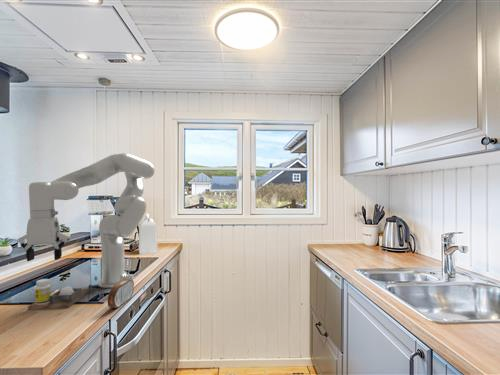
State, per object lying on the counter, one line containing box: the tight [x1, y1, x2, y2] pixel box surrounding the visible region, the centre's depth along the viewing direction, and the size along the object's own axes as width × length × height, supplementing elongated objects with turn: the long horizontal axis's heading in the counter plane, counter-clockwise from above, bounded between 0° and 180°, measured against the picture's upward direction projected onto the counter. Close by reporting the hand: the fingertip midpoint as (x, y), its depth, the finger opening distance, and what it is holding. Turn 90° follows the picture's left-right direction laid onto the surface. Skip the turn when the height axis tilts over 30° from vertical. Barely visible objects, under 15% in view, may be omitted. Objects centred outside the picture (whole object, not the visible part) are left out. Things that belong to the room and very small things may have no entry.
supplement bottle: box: [34, 278, 52, 305], centre depth 107 cm, size 5×5×8 cm
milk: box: [137, 213, 159, 255], centre depth 197 cm, size 12×12×26 cm
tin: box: [107, 278, 135, 309], centre depth 109 cm, size 15×3×8 cm, turn 175°
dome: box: [59, 286, 74, 295], centre depth 112 cm, size 5×5×4 cm
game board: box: [27, 287, 91, 311], centre depth 113 cm, size 14×17×4 cm
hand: (44, 259), depth 108 cm, fingers open, 9 cm apart
